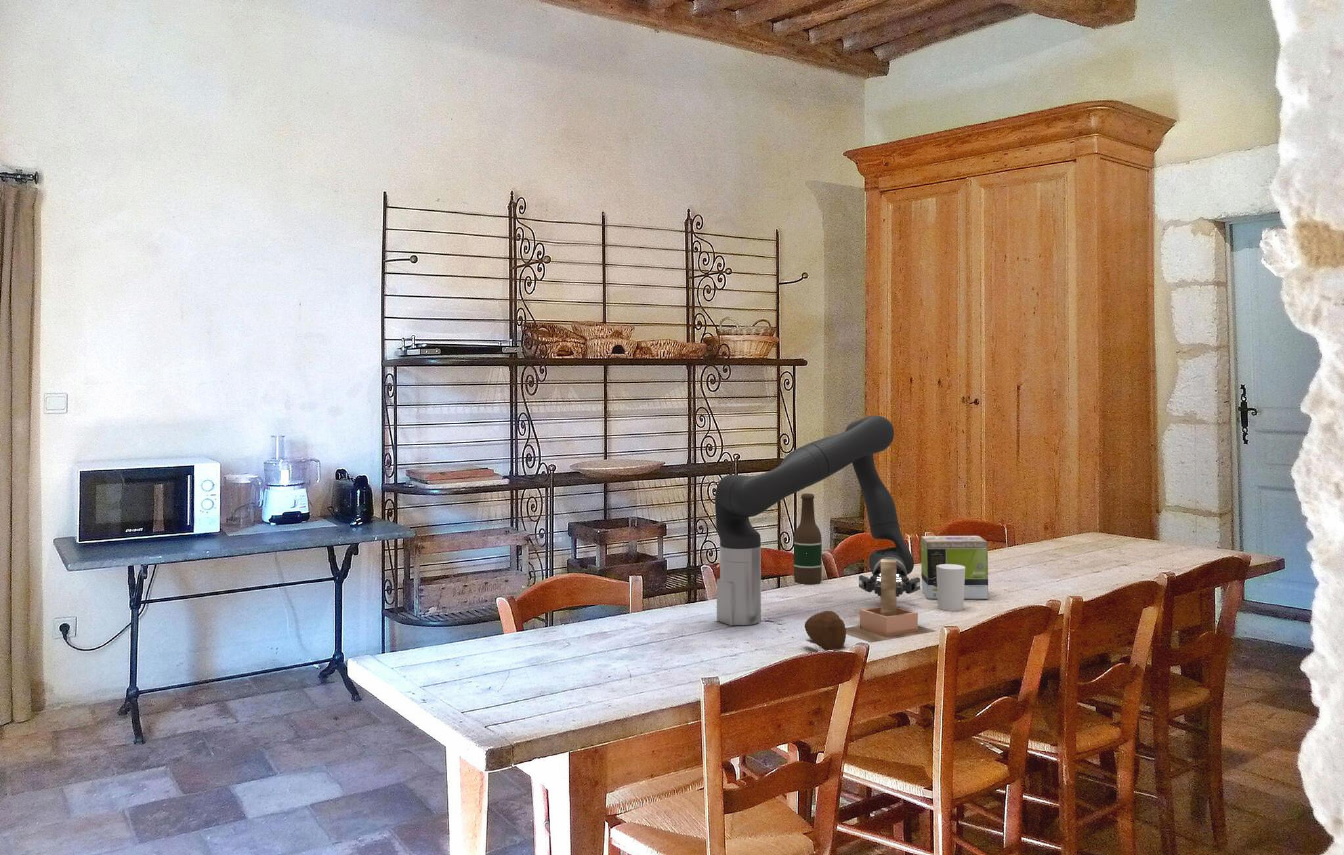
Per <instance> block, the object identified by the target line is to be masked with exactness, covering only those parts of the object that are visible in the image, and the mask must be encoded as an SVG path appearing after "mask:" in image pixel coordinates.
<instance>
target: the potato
mask: <svg viewBox="0 0 1344 855" xmlns="http://www.w3.org/2000/svg"><path fill="white" fill-rule="evenodd" d="M846 628H847V627H846V625H845V622H844V621H843V619H841V618H840V615H839V614H837V613H836V612H835V611H833V610H826V611H821V612H818V613H815V614H814V615H811V616H810V617H809V618H807V620H806V621H805V622H804V629H805V632H806V634H807V636H808V637H809V639H811V641H812V642H813V643H814V644H815V645H817V647H819V648H821V649H823V650H824V651H826V650H835V649H841V648H843V646H844V644H845V642H846V638H847V634H846Z"/></svg>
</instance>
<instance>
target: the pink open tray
mask: <svg viewBox="0 0 1344 855" xmlns="http://www.w3.org/2000/svg"><path fill="white" fill-rule="evenodd" d="M918 619H919V612H916V611H913V610H909V609H905V608H903V607H898V606H896V615H894V616H884V615H881V606H875V607H869V608H863V609H859V626H860V628H861V629H864V630H867V631H870V632H873V633H876V634H879V635H883V636H886V637H889V636H894V635H900V634H906V633H912V632H918V626H919V621H918Z"/></svg>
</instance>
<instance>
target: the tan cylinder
mask: <svg viewBox="0 0 1344 855" xmlns="http://www.w3.org/2000/svg"><path fill="white" fill-rule="evenodd" d="M880 607H881V615H884V616H894V615H896V607H897V597H896V560H888V559H881V596H880Z"/></svg>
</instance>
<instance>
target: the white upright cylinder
mask: <svg viewBox="0 0 1344 855" xmlns="http://www.w3.org/2000/svg"><path fill="white" fill-rule="evenodd" d="M936 570H937V593H938V599H937V608H938V609H939V610H942V611H946V612H947V611H948V612H959V611H960V612H961V611H963V610H964V603H965V602H964V600H965V599H964V582H965V567H964V566H962V565H955V564H941V565H937V566H936Z"/></svg>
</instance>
